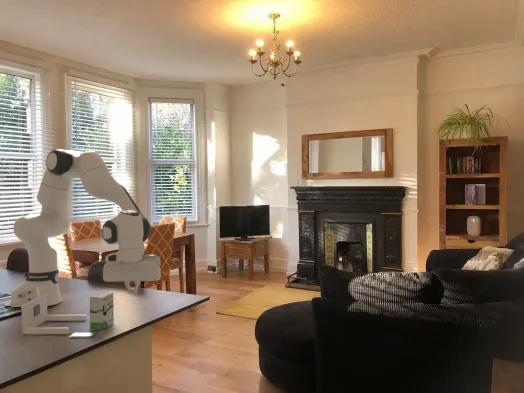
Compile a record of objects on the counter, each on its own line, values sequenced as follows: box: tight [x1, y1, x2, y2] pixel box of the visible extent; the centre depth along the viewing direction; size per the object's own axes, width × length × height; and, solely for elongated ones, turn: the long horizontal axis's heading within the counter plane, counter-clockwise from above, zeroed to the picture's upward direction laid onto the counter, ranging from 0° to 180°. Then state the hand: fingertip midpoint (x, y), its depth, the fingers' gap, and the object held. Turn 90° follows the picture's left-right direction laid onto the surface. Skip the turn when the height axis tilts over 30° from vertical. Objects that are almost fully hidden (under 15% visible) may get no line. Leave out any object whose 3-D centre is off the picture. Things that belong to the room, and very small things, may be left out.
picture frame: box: [68, 331, 98, 339], centre depth 157 cm, size 8×4×1 cm, turn 90°
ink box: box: [89, 291, 115, 331], centre depth 166 cm, size 9×5×12 cm, turn 168°
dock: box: [20, 294, 87, 335], centre depth 167 cm, size 16×16×10 cm
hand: (132, 293), depth 166 cm, fingers closed
